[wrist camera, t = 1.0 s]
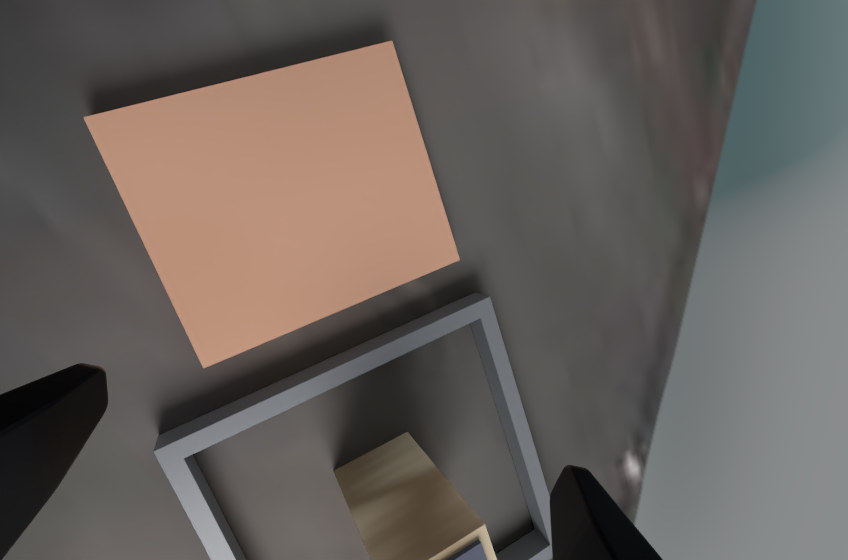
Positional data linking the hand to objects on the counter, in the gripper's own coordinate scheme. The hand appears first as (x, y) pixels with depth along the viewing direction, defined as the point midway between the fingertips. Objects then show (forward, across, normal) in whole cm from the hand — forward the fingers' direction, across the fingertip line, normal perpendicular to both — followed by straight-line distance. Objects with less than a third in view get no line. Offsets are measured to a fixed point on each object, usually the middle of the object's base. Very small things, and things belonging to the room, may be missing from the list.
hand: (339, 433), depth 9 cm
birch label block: (+10, -2, +14) cm, 17 cm away
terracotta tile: (+13, +4, +1) cm, 14 cm away
